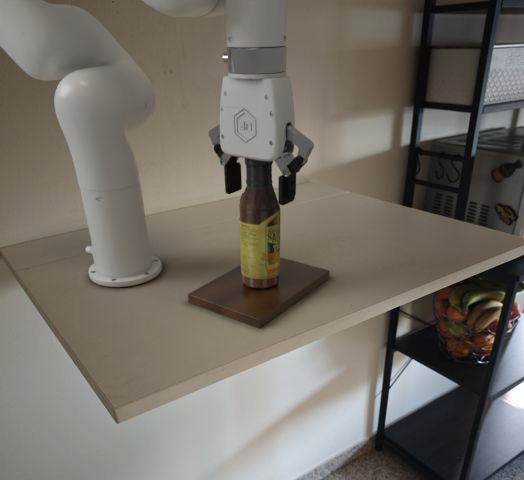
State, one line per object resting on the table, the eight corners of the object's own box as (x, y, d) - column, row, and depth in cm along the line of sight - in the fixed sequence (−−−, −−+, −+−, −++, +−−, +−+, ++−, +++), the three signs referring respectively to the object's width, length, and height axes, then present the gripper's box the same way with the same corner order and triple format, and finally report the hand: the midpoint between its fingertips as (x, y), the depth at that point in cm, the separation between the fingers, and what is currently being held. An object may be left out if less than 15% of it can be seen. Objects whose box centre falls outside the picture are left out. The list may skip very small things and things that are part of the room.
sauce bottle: (275, 292, 78) (275, 159, 67) (237, 289, 79) (230, 158, 68) (283, 274, 83) (284, 149, 72) (247, 271, 84) (242, 147, 73)
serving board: (188, 302, 79) (187, 293, 78) (263, 260, 92) (263, 252, 91) (259, 328, 72) (259, 319, 71) (329, 278, 85) (329, 270, 84)
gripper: (187, 63, 66) (198, 193, 75) (297, 68, 57) (294, 214, 67) (224, 59, 71) (230, 182, 80) (330, 63, 62) (323, 200, 72)
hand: (259, 197), depth 73 cm, fingers open, 9 cm apart
